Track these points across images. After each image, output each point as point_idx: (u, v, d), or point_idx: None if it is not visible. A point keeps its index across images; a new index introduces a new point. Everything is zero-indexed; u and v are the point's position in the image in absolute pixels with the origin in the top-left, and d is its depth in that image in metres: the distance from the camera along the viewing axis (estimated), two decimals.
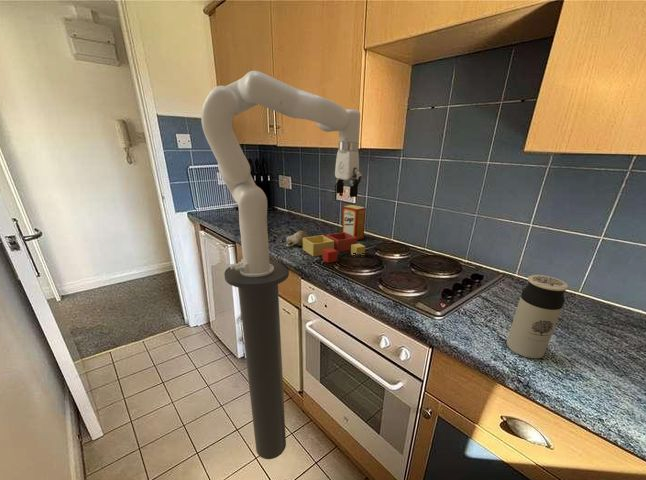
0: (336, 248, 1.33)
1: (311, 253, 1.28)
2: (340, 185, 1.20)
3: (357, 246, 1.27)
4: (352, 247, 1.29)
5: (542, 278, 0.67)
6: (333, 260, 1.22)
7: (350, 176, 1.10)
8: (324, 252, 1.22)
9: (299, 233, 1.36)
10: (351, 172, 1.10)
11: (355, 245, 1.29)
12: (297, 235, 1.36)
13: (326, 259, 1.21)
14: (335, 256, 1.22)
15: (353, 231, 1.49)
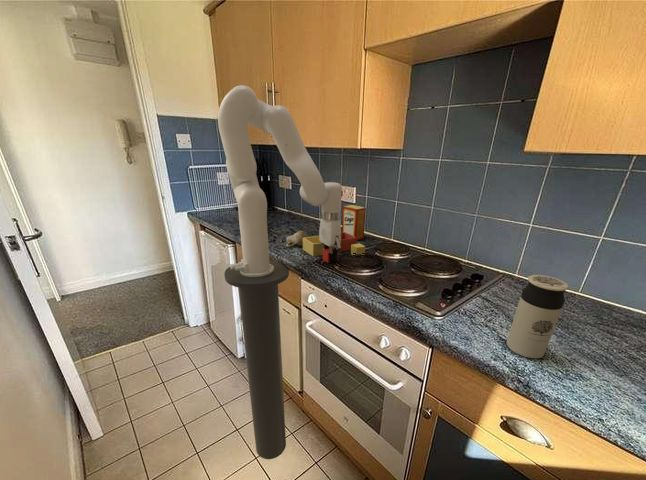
0: None
1: (311, 253, 1.28)
2: None
3: (357, 246, 1.27)
4: (352, 247, 1.29)
5: (542, 278, 0.67)
6: None
7: (332, 244, 1.15)
8: (324, 252, 1.22)
9: (299, 233, 1.36)
10: (333, 240, 1.15)
11: (355, 245, 1.29)
12: (297, 235, 1.36)
13: (326, 259, 1.21)
14: None
15: (353, 231, 1.49)
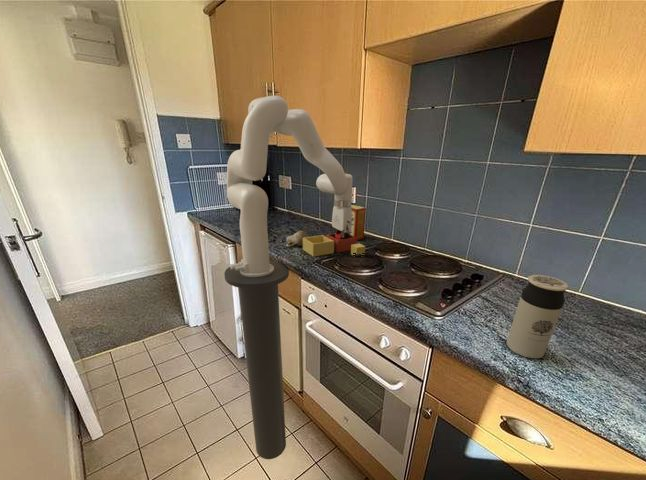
0: (336, 248, 1.33)
1: (311, 253, 1.28)
2: None
3: (357, 246, 1.27)
4: (352, 247, 1.29)
5: (542, 278, 0.67)
6: None
7: (344, 228, 1.30)
8: (336, 236, 1.37)
9: (299, 233, 1.36)
10: (345, 225, 1.30)
11: (355, 245, 1.29)
12: (297, 235, 1.36)
13: None
14: None
15: (353, 231, 1.49)
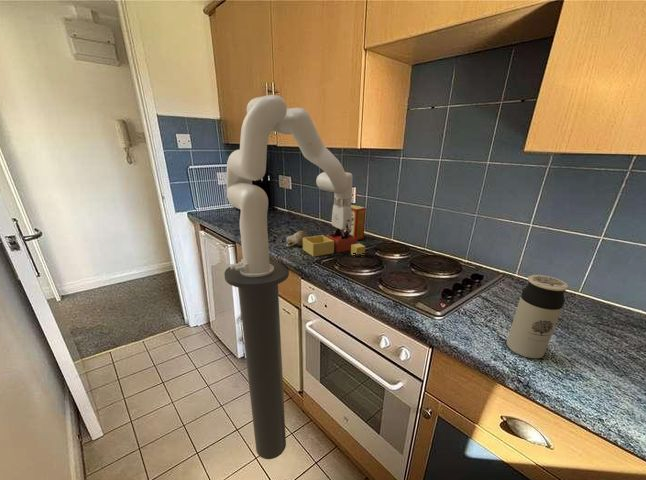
0: (336, 248, 1.33)
1: (311, 253, 1.28)
2: (338, 234, 1.39)
3: (357, 246, 1.27)
4: (352, 247, 1.29)
5: (542, 278, 0.67)
6: None
7: (344, 227, 1.30)
8: None
9: (299, 233, 1.36)
10: (345, 223, 1.30)
11: (355, 245, 1.29)
12: (297, 235, 1.36)
13: None
14: None
15: (353, 231, 1.49)
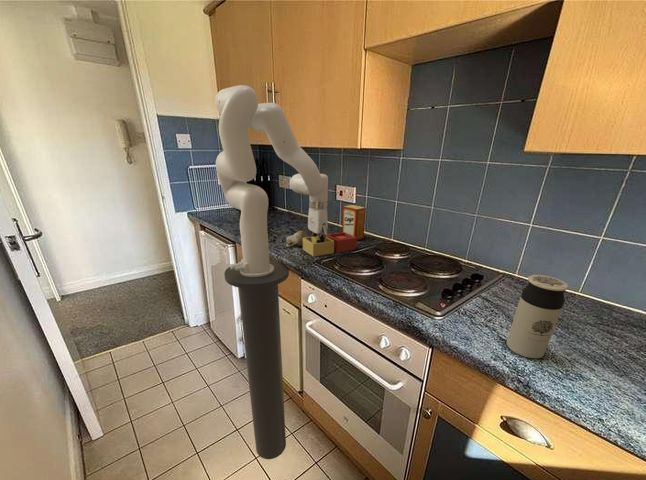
0: (336, 248, 1.33)
1: (311, 253, 1.28)
2: None
3: (316, 238, 1.30)
4: (312, 239, 1.31)
5: (542, 278, 0.67)
6: None
7: (319, 231, 1.24)
8: None
9: (299, 233, 1.36)
10: (320, 227, 1.24)
11: (315, 237, 1.31)
12: (297, 235, 1.36)
13: None
14: None
15: (353, 231, 1.49)
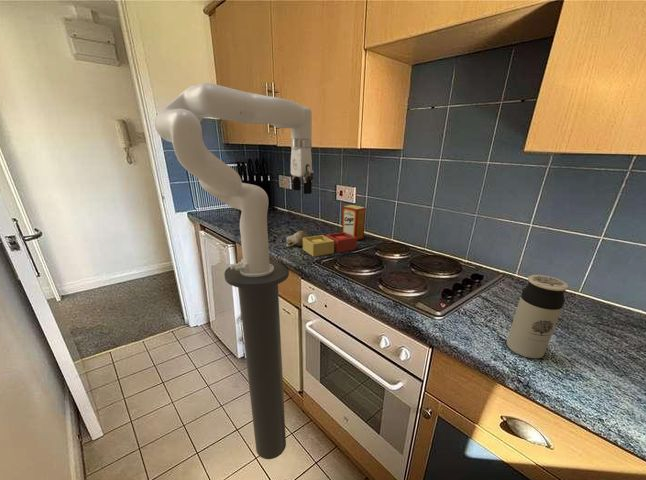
0: (336, 248, 1.33)
1: (311, 253, 1.28)
2: (297, 182, 1.21)
3: (316, 241, 1.30)
4: (312, 242, 1.32)
5: (542, 278, 0.67)
6: None
7: (303, 173, 1.11)
8: None
9: (299, 233, 1.36)
10: (303, 169, 1.10)
11: (315, 240, 1.31)
12: (297, 235, 1.36)
13: None
14: None
15: (353, 231, 1.49)
